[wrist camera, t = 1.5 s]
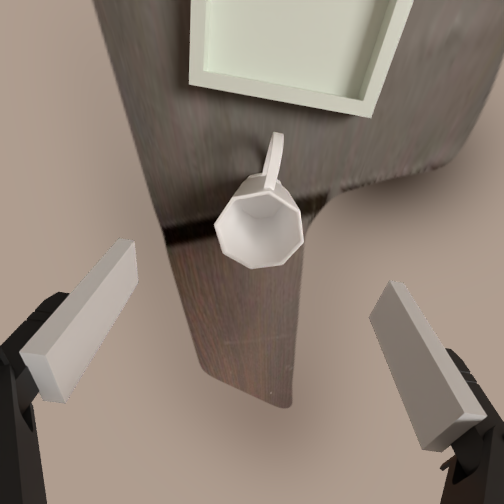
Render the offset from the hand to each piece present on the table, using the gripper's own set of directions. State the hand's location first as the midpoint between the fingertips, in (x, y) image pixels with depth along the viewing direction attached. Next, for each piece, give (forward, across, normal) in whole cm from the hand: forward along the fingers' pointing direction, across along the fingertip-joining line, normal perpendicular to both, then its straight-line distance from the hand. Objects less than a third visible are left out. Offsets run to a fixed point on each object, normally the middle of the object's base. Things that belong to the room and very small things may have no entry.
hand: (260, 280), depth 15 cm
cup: (+15, 0, 0) cm, 15 cm away
